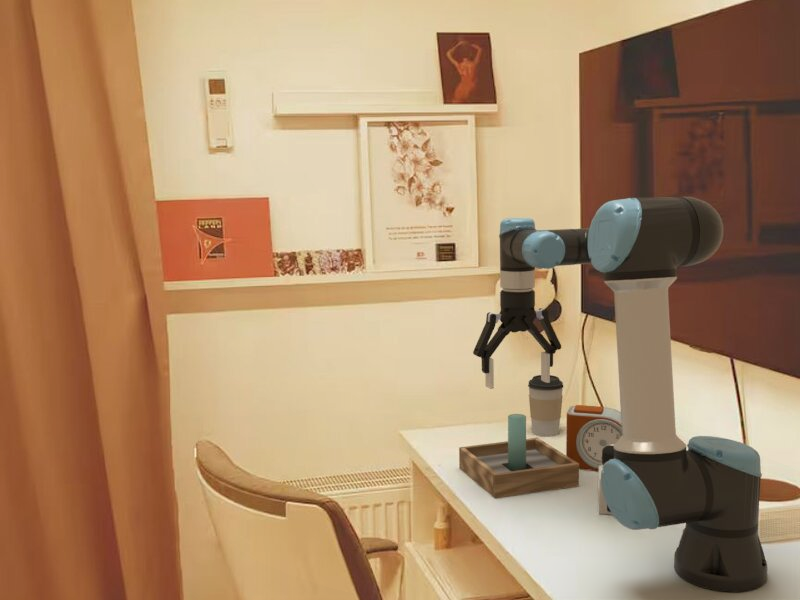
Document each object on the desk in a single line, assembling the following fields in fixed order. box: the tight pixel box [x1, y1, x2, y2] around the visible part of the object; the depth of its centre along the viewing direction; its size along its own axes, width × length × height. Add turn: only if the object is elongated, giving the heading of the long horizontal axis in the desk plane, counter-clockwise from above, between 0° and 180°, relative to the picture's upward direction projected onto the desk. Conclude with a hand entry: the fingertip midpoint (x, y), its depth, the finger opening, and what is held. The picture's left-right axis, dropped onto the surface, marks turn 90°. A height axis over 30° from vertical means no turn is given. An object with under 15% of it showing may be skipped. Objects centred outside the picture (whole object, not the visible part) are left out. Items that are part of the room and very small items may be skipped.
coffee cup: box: [527, 374, 564, 438], centre depth 235 cm, size 9×9×15 cm
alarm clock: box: [565, 404, 622, 472], centre depth 210 cm, size 15×8×14 cm, turn 71°
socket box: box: [458, 437, 580, 499], centre depth 204 cm, size 20×20×5 cm
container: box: [597, 444, 614, 516], centre depth 184 cm, size 8×8×13 cm
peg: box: [507, 413, 527, 471], centre depth 203 cm, size 4×4×14 cm
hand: (517, 384), depth 201 cm, fingers open, 13 cm apart
